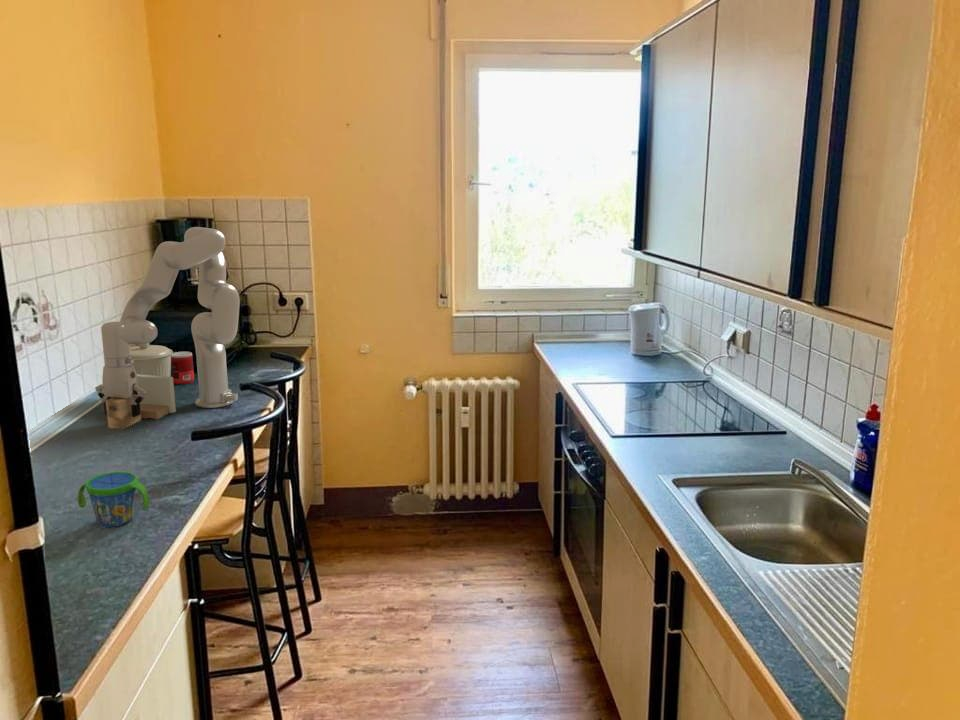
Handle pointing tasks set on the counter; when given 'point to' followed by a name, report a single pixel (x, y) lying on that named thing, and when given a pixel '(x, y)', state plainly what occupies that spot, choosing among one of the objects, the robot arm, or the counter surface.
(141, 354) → the canister
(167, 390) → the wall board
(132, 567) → the counter surface
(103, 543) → the counter surface
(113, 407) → the oak box
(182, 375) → the canned food
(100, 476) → the snack cup
